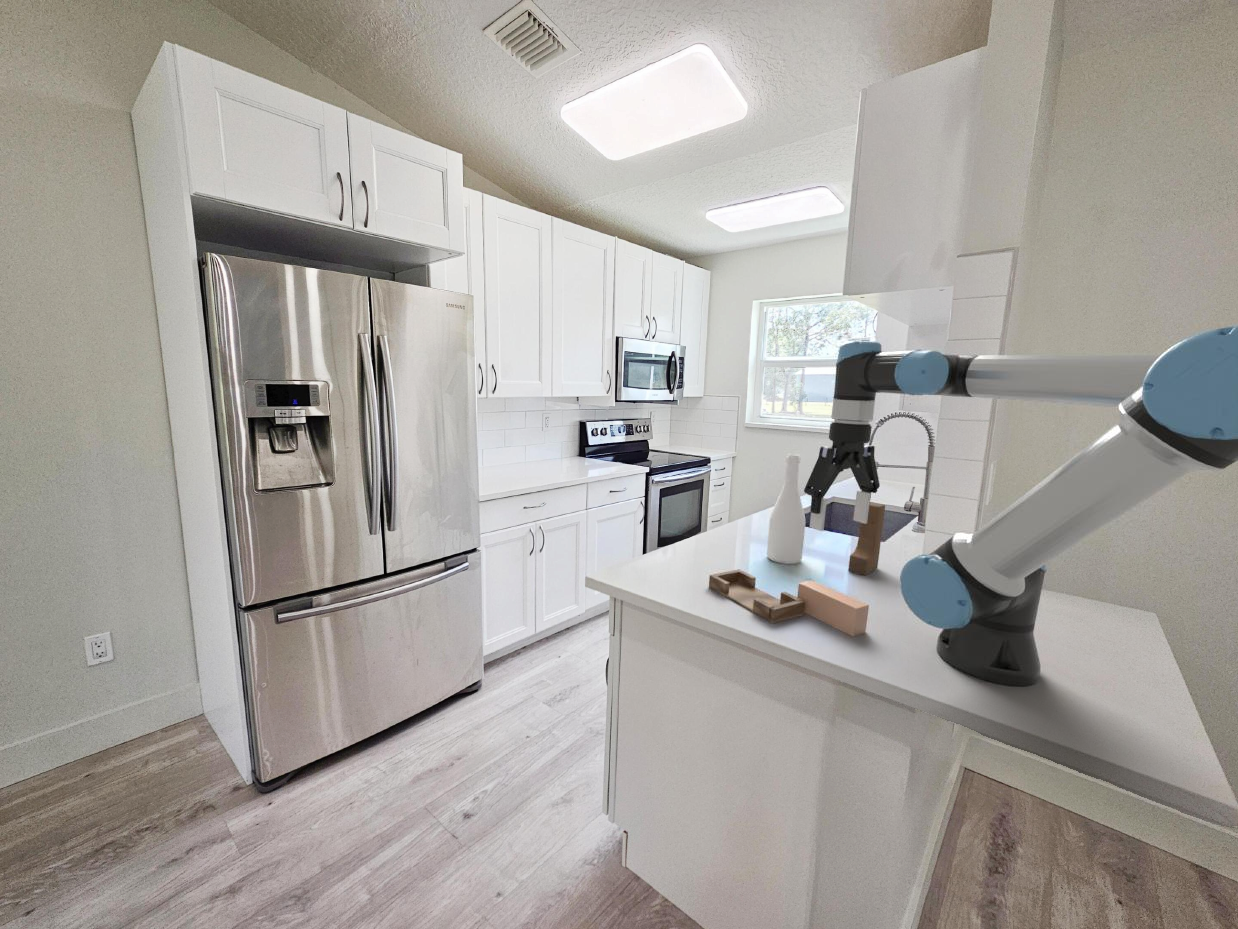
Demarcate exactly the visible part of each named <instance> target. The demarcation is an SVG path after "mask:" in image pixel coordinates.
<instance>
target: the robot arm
mask: <svg viewBox="0 0 1238 929" xmlns="http://www.w3.org/2000/svg"><path fill="white" fill-rule="evenodd" d="M836 360H837V361H836V363H835V377H834V378H835V380H834V381H835V382H834V389H833V390H834V392H833V393H834V394H833V401H832V407H831V408H832V409H831V416H830V417H831V419H832V420H833V421H831V423H830V424H829V430H828V432H829V433H828V439H829V441H831V442H832V445H831V446H825V445H824V446H823V445H822V446H820V448H819V452H818V458H817V460H816V462H815V464H814V467H813V468H812V471H811V474H810V476H809V477H808V480H807V483H806V485H805V487H804V490H803V492H804V494H807V495H808V496H810V497H811V500H810V501H811V502H810V510H809V511H810V520H809V528H811V529H815V530H816V531H820V532H823V531H824V528H825V519H826V509H827V500H828V498H827V497H825V496H826V494H827V493H828V491H829V490H830V488H831V486H832V485H833V483H834V482H835V480H836V479H837V477H838V475H840V473H842V472H844V471H845V470H849V469H850V470H851V472H852V474H853V477H854V479H855V480H856V483H857V485H858V488H859V490H856V494H855V502H854V503H855V504H854V511H853V518H852V520H853V521H854V522H858V523H860V522H861V523H864V524H866V523H867V519H868V512H869V505H870V502H871V500H872V499H871V496H872V494H877V493H878V489H879V488H880V480H879V474H878V469H877V464H876V459H875V449H876V448H875V446H874V445H871V444H868V443H870V441H871V435H872V427H873V426H872V424H870V422H872V421H873V420H874V412H875V404H876V396H877V394H878V393H880V394H882V393H883V394H895V395H896V394H898V395H909V396H924V395H926V396H927V395H928V396H944V397H945V396H947V397H954V398H955V397H958V398H959V397H962V398H981V399H995V400H1006V401H1007V400H1008V401H1019V402H1020V401H1023V402H1033V403H1034V402H1035V403H1037V402H1038V403H1049V404H1050V403H1053V404H1061V405H1063V404H1065V405H1078V406H1093V407H1108V408H1116V409H1118V421H1117V422H1116V423H1115V424H1114V425H1112V426H1111V427H1110V428H1108V429H1107V430H1106V431H1105V432H1103V433H1102V434H1101V435H1100V436H1098V437H1097V438H1096V439H1094V440H1093V441H1092V442H1090V443H1089V444H1088V445H1086V447H1084V448H1083V449H1081V450H1080V451H1078V452H1077V453H1076V454H1075V455H1073V457H1071V458H1069V459H1068V460H1067V461H1066V462H1065V463H1063V464H1062V465H1061V466H1059V467H1058V468H1057V469H1056V470H1054V471H1053V472H1051V474H1049V475H1048V476H1046V477H1045V478H1043V480H1041V481H1040V482H1039V483H1038V484H1036V485H1035V486H1033V487H1032V488H1031V489H1030V490H1028V491H1027V492H1026V493H1024V494H1023V495H1022V496H1021V497H1019V498H1018V499H1017V500H1015V501H1014V502H1013V503H1012V504H1010V505H1008V507H1006V508H1005V509H1004V510H1003V511H1001V512H1000V513H998V515H996V516H995V517H993V518H992V519H991V520H989V521H988V522H987V523H985V524H984V525H983V526H982V527H981V528H979V529H978V530H977V531H975V532H971V531H959V532H957V533H955V534H954V535H953V536H952V537H950V538H948V540H947V541H945V542H944V543H943V544H941V545H939V547H938V548H936V549H934V551H931V552H930V553H929V554H919V555H917V556H915V557H913V558H912V559H910V560H908V561H907V562H906V563H905V564H904V566H903V567H902V569H901V572H900V576H899V582H900V585H901V587H900V592H901V595H902V598H903V600H904V602H905V604H906V605H907V607H908V608H909V610H910V611H911V612H912V613H913V614H914V615H915V616H916V617H917V618H918V619H919V620H921V621H922V622H923V623H925V624H927V625H929V626H932V627H934V628H936V629H937V628H938V629H942V630H941V631H940V633H939V635H938V636H937V641H936V651H937V654H938V655H939V657H940V658H942V660H944V661H945V662H946V663H948V664H949V665H950V666H953V667H954V668H956V669H958V670H960V671H961V672H963V673H966V674H969V675H970V676H973V677H975V678H978V679H982V680H984V681H987V682H991V683H996V684H1000V685H1007V686H1014V687H1016V686H1017V687H1023V686H1031V685H1034V684H1036V683H1037V682H1039V679H1040V673H1041V661H1040V660H1041V659H1040V656H1039V653H1038V652H1039V651H1038V649H1037V644H1036V639H1035V635H1034V632H1035V626H1036V620H1037V615H1038V611H1039V610H1038V609H1039V605H1040V599H1041V595H1042V594H1041V593H1042V589H1043V585H1044V580H1045V579H1044V578H1045V573H1047V568H1046V565H1047V564H1048V563H1049V562H1051V561H1053V560H1054V559H1056V558H1058V557H1059V556H1061V555H1063V553H1065V552H1067V551H1069V550H1070V549H1071V548H1073V547H1075V546H1076V545H1078V544H1079V543H1081V542H1082V541H1084V540H1086V539H1088V538H1089V537H1090V536H1091V535H1093V534H1095V533H1096V532H1097V533H1098V531H1099V530H1101V529H1103V528H1104V527H1106V526H1107V525H1109V524H1110V523H1112V522H1114V521H1115V520H1117V519H1119V518H1120V517H1122V516H1123V515H1125V514H1126V513H1129V511H1131V510H1132V509H1134V508H1135V507H1137V506H1139V505H1140V504H1142V503H1144V502H1145V501H1147V500H1148V499H1149V498H1151V497H1153V496H1154V495H1156V494H1158V493H1159V492H1161V491H1162V490H1163V489H1165V488H1167V487H1169V486H1170V485H1171V484H1174V482H1176V481H1178V480H1180V479H1181V478H1182V477H1184V476H1186V475H1187V474H1189V473H1190V472H1193V471H1195V472H1196V471H1222V470H1225V469H1226V468H1227V467H1230V465H1231V466H1232V465H1233V464H1234V463H1236V462H1237V461H1238V325H1236V326H1226V327H1220V328H1215V329H1209V330H1207V331H1203V332H1201V333H1198V334H1194V335H1192V336H1190V337H1187V338H1186V339H1183V340H1181V341H1179V342H1178V343H1176V344H1174V345H1172V346H1171V347H1169V348H1168V349H1167V350H1166V351H1164V352H1163V353H1162V354H1009V355H1008V354H1006V355H1005V354H1002V355H1001V354H997V355H996V354H995V355H993V354H991V355H990V354H989V355H988V354H987V355H985V354H983V355H982V354H981V355H979V354H978V355H976V354H945V353H944V354H943V353H941V351H938V350H927V349H924V350H923V349H915V350H904V351H903V350H901V351H900V350H899V351H883V350H882V344H881V343H880V342H878V341H870V340H869V341H868V340H867V341H866V340H865V341H864V340H863V341H861V340H860V341H856V340H855V341H846V342H844V343H842V344H841V345H840V346H839V350H838V355H837V359H836Z"/></svg>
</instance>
